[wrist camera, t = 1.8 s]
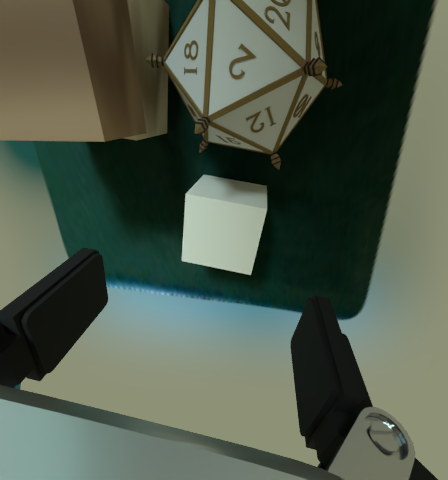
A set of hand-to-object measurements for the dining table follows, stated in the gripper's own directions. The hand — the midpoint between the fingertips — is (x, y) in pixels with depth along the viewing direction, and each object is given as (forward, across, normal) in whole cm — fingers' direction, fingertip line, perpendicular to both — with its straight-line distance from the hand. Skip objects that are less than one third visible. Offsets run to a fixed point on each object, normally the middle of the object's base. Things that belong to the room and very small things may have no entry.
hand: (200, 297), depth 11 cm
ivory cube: (+11, 0, 0) cm, 11 cm away
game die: (+11, 0, -9) cm, 14 cm away
